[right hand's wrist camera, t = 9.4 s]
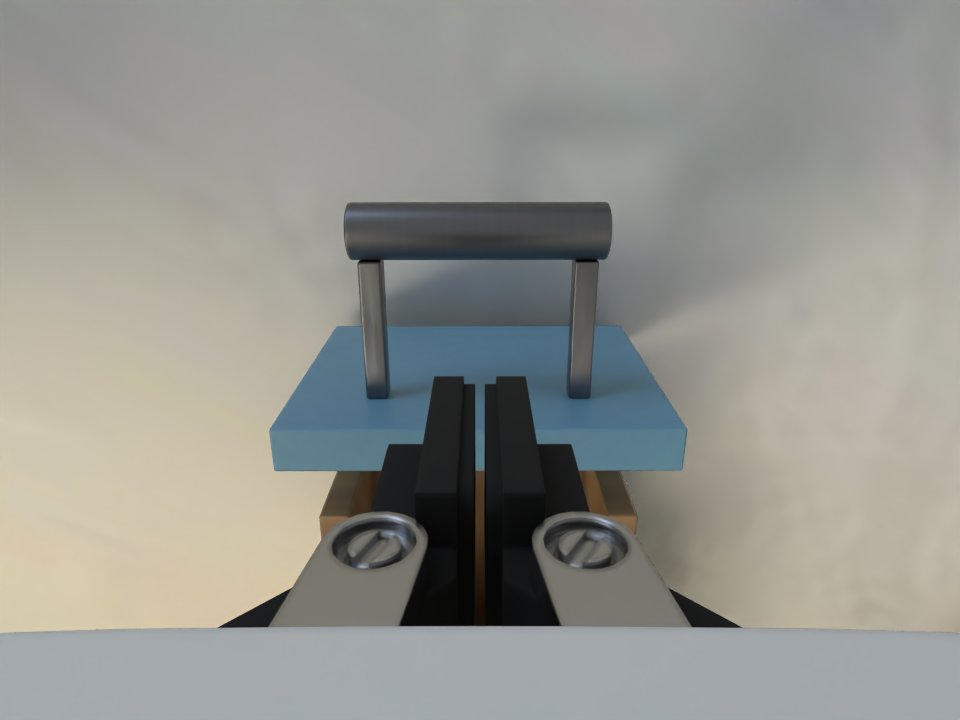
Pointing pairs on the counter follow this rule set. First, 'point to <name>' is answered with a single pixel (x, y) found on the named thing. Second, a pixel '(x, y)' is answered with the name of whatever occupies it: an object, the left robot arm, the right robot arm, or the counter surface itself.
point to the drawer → (477, 362)
